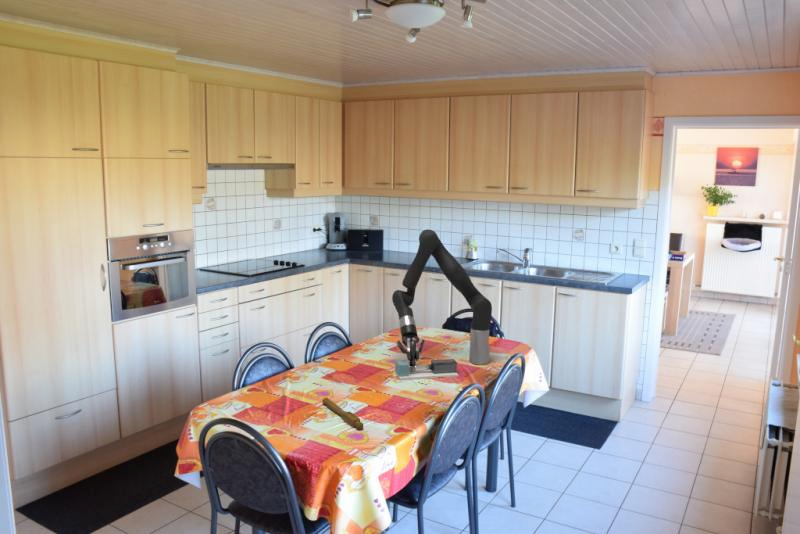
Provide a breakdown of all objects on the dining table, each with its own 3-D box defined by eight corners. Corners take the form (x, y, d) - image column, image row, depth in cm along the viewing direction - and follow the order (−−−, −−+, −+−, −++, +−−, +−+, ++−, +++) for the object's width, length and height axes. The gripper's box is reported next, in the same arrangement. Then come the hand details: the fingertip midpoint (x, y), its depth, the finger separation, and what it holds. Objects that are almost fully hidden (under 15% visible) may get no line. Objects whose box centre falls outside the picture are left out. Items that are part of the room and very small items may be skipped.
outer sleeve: (453, 369, 306) (453, 359, 305) (456, 372, 301) (457, 362, 300) (430, 370, 303) (431, 360, 303) (434, 373, 298) (434, 363, 298)
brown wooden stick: (328, 396, 262) (365, 422, 237) (328, 403, 263) (365, 430, 238) (321, 397, 261) (357, 423, 236) (321, 405, 261) (357, 431, 236)
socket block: (404, 370, 302) (404, 359, 301) (408, 376, 294) (408, 364, 293) (395, 371, 301) (395, 360, 300) (399, 376, 293) (399, 365, 292)
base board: (451, 369, 309) (451, 367, 309) (458, 376, 298) (458, 374, 298) (394, 372, 302) (394, 370, 302) (399, 380, 292) (399, 377, 292)
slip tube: (434, 369, 303) (436, 338, 300) (437, 371, 299) (438, 340, 297) (399, 371, 299) (400, 340, 296) (401, 373, 295) (402, 342, 293)
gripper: (395, 324, 301) (400, 357, 291) (423, 323, 304) (430, 355, 294) (392, 332, 306) (397, 364, 297) (420, 331, 310) (426, 363, 300)
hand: (413, 360), depth 296 cm, fingers closed on slip tube, 3 cm apart
